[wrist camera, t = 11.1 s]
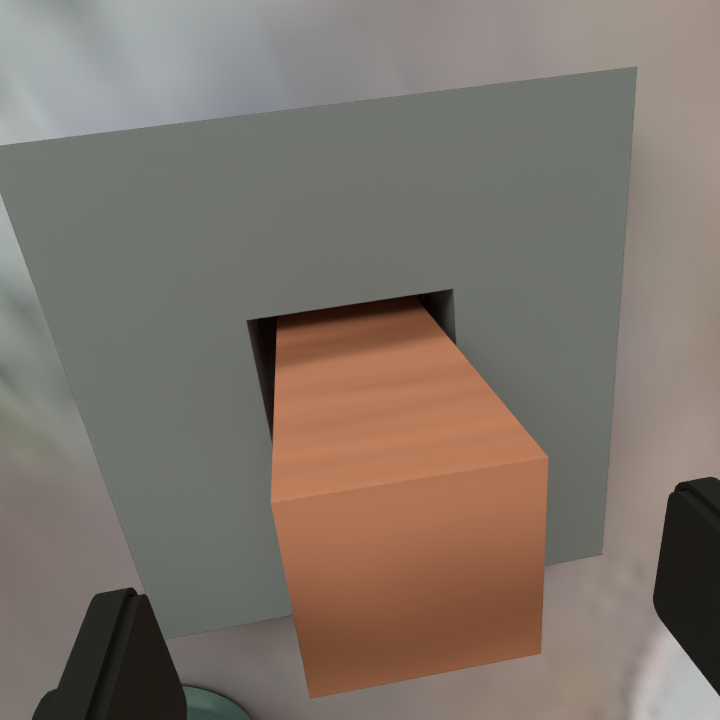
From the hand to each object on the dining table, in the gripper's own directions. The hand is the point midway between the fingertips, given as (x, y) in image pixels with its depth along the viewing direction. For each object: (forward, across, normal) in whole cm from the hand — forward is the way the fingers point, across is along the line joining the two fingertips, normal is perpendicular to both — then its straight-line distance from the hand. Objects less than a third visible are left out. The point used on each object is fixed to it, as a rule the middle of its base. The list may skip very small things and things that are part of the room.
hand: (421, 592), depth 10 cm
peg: (+13, 0, +1) cm, 13 cm away
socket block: (+13, 0, +1) cm, 13 cm away
